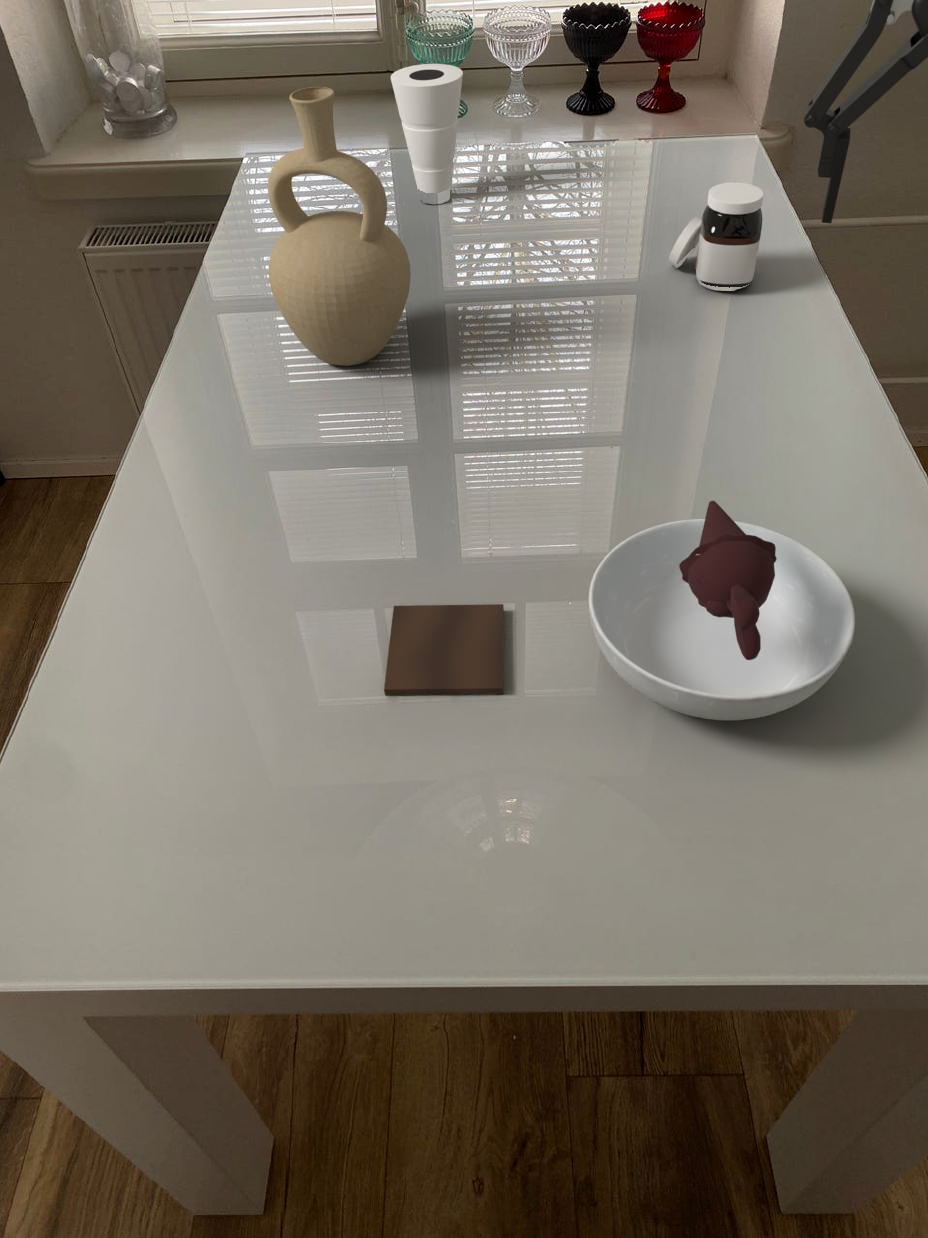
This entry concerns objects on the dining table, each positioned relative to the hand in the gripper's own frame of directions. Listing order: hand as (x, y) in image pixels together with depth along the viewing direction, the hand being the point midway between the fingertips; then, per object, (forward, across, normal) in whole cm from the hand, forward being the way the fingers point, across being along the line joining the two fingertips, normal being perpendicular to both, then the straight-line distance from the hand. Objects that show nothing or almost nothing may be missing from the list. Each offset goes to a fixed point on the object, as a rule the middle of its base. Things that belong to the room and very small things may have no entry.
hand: (913, 222), depth 79 cm
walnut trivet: (+27, -32, -32) cm, 53 cm away
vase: (+27, -59, +14) cm, 66 cm away
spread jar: (+27, -18, +43) cm, 54 cm away
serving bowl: (+27, -10, -27) cm, 39 cm away
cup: (+27, -63, +62) cm, 93 cm away
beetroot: (+20, -10, -27) cm, 35 cm away
